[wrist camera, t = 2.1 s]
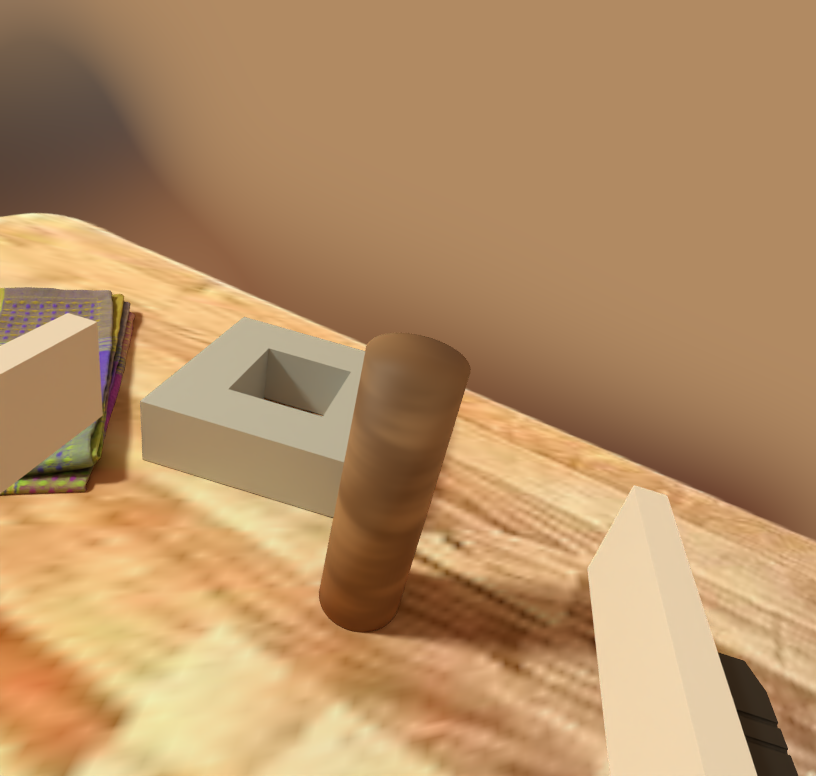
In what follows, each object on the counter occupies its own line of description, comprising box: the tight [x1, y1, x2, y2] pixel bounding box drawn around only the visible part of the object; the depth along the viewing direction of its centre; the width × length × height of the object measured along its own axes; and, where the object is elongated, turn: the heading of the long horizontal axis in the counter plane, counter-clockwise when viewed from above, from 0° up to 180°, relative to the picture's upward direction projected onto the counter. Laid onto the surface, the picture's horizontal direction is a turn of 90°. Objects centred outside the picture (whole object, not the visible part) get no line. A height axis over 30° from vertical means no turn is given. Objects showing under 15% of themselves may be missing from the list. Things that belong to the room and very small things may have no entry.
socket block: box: [140, 317, 365, 518], centre depth 41 cm, size 14×14×4 cm
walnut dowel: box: [319, 333, 470, 632], centre depth 27 cm, size 4×4×15 cm
